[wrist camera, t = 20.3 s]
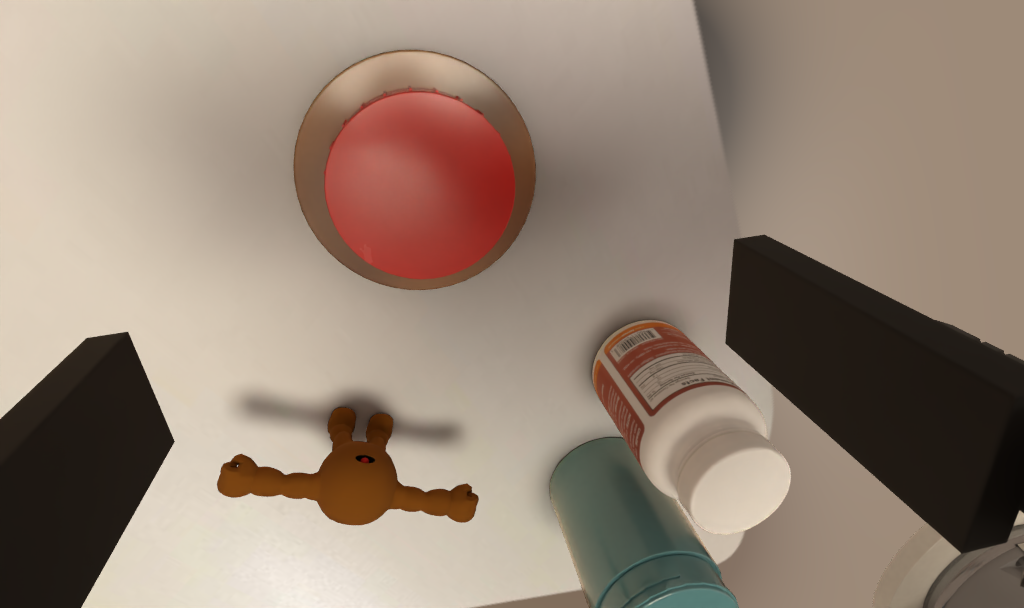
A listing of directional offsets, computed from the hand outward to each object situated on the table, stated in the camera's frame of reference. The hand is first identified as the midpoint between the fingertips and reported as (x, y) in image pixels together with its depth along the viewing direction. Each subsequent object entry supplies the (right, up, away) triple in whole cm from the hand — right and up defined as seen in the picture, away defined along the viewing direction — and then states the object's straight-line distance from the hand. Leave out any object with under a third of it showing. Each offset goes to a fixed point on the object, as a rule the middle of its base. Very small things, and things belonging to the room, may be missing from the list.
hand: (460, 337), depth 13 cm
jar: (+7, -11, +25) cm, 28 cm away
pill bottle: (+9, -3, +21) cm, 23 cm away
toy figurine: (-7, -6, +19) cm, 21 cm away
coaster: (-3, +7, +14) cm, 16 cm away
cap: (-3, +6, +12) cm, 13 cm away
